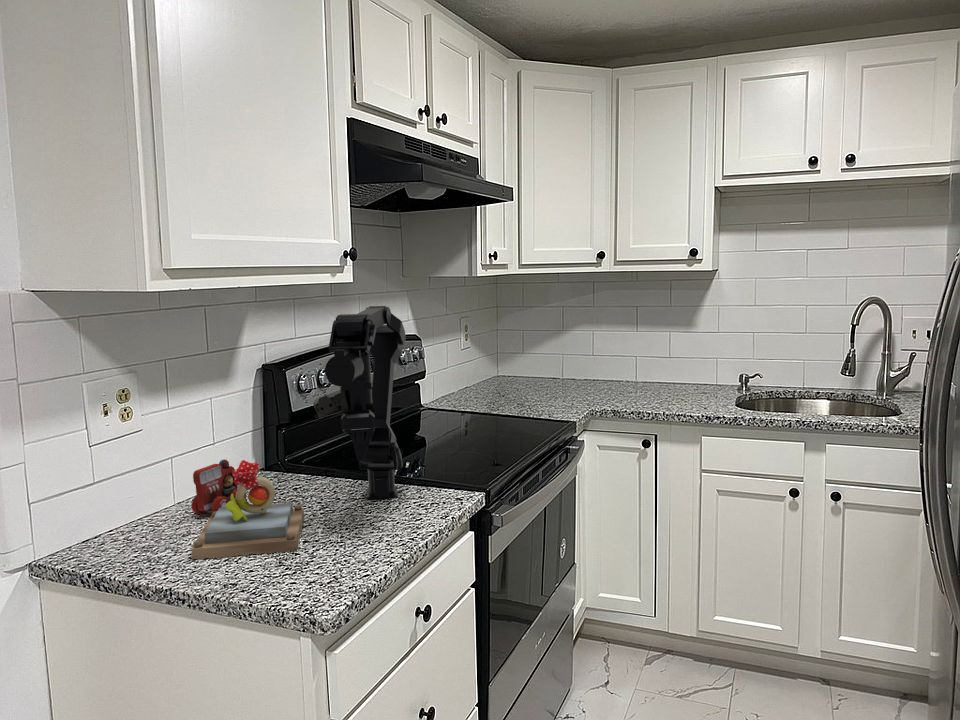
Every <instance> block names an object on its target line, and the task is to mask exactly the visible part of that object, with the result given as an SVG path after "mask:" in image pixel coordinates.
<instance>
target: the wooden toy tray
mask: <svg viewBox="0 0 960 720" xmlns="http://www.w3.org/2000/svg"><path fill="white" fill-rule="evenodd" d="M241 511H242V512H243V513H244V514H245V516H246V517H247V519H248V520H247V521H245V520H244V519H243V518H242V517H241V519H239V520H238V521H235V520H234V519H233V514H232V512H230V511H228V510H227V509H226V507H225V508H219V509H218V511H215V512H212V511H211V515H210V517H209V519H208V520H207V522H206V524H205V525H204V527H203V529H202V530H201V532H200V533H199V536H198V537H197V538H196V540H195V541H194V542H193V546H192V547H191V550H190V552H191V553H190V554H191V560H192V561H194V560H193V559H199V560H205V559H204V558H211V559H213V558H212V557H222V556H223V557H222V558H225V557H224V556H233V557H239V556H238V555H245V556H250V555H249V554H256V555H262V554H261V553H268V554H276V553H275V552H279V553H288V552H287V551H291V552H297V551H298V547H299V543H300V538H301V534H302V528H303V526H304V525H303V524H304V521H305V508H304V507H303V505H301V504H296V505H294V508H293V502H292V501H289V502H279V503H272V504H271V505H270V507H269V508H268V509H267V511H266V513H265V514H262V513H249V512H246V511H244V510H242V509H241ZM202 558H203V559H202Z"/></svg>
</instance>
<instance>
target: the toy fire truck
mask: <svg viewBox="0 0 960 720" xmlns="http://www.w3.org/2000/svg"><path fill="white" fill-rule="evenodd" d="M234 470H236V469H235V467H234V466H231V465H230V462H229V461H228V460H227V459H220V461H219V463H213V464H210V465H207V466H204V467H202V468H199V469H196V470H195V471H193V474H192V479H193V484H194V486H195V493H196V495H195V496H194V497H193V499H192V501H191V510H192V512H193V513H194V514H197V515H203V514H206V512H211V513H212V512H215V511H218V509H219V508H225V507H226V504H227V503H228V502H229V501H231V500H230V498H231V494H233V496H234V499H235V498H236V492H237V489H238V487H239V486H240V484H239V485H237V484H235V482H234V480H235V477H234V476H233V475H232V472H233V471H234ZM245 496H246V499H247V498H248V496H247V493H245ZM247 500H248V499H247Z"/></svg>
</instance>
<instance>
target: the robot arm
mask: <svg viewBox="0 0 960 720" xmlns="http://www.w3.org/2000/svg"><path fill="white" fill-rule="evenodd" d="M406 335H407V334H406V330H405V327H404V324H403V322H402V320H401V319H400V318H398V317H397V316H395V314H393V313H392V311H391V308H390V307H389V306H387V305H373V306H372V305H369V306H368V307H365V309H364V310H361V311H360V312H358V313H352V314H351V313H350V314H349V313H348V314H347V313H346V314H337V316H336V317H335V320H333V321H332V327H331V331H330V337H329V343H328V352H333V356H332V357H330V359H328V360H327V362H326V364H325V367H324V375H325V377H326V379H327V380H328V381H329V383H331V385H334V386H336V387H340V389H339V390H336V391H333V392H331V393H328V394H324V395H322V396H319V397H318V398H316V399H315V400H313V407H314V410H315V412H316V414H317V416H318V418H319V419H323V418H326V417H327V416H328V415H330V414H332V413H334V412H337V411H339V410H341V413H343V414H342V415H341V417H340V419H341V423H340V424H341V430H342V431H343V432H344V433H345V434H346V435H348V436H350V439H351V441H352V445H353V449H354V451H355V455H356V460H357V463H358V468H359V471H362V470H363V471H365V470H367V481H368V482H367V483H368V488H367V489H366V499H367V500H377V499H391V498H397V497H398V492H397V486H396V485H395V471H397V470H399V469H402V468H403V459H402V458H403V457H402V453H401V449H400V448H399V447H400V446H399V445H398V443H397V437H396V435H395V433H394V431H393V429H392V428H391V415H392V414H391V412H392V400H393V388H394V387H393V386H394V374H395V364H396V363H397V361H398V360H399V358H400V357H401V356H402V355H403V349H404V345H405V344H406V340H407V339H406V338H407V337H406ZM371 356H372V358H373V359H374V360H373V372H372V371H371Z"/></svg>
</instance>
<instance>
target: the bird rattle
mask: <svg viewBox="0 0 960 720" xmlns="http://www.w3.org/2000/svg"><path fill="white" fill-rule="evenodd" d="M259 469H260V464H259V463H258V462H249V461H247V460H245V459H242V460H241V461H240V462H239V464H238V467H237V469H235V470H234V471H233V472H232V475H233V476H234V477H235V480H234V482H235V484H237V485H239V484H240V486H239V487H238V489H237V492H236V498H235V499H234V496H233V494H231V498H230V500H231V501H229V502H228V503H227V504H226V509H227V510H228V511H230V512H232V514H233V519H234V520H235V521H238V520H239V519H241V517H242V518H243V519H244V520H245V521H247V520H248V519H247V517H246V516H245V514H244V513H243V512H242V511H241V509H242V510H244V511H246V512H249V513H262V514H265V513H266V511H267V509H268V508H269V507H270V505H271V504H273V502H274V500H275V498H276V489H275V485H274V484H273V483H272V481H271V480H270V479H268V478H267V477H263V476H258V472H259ZM245 493H246V494H248V496H247V495H246V496H245ZM246 497H247V498H248V499H246ZM249 502H250V503H249Z"/></svg>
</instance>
